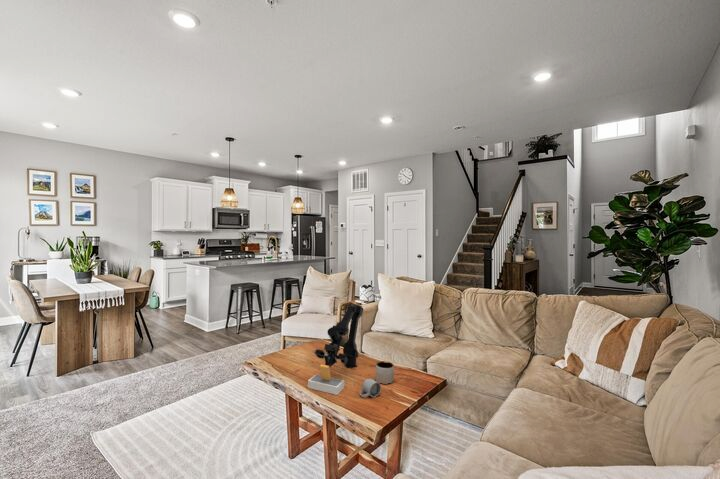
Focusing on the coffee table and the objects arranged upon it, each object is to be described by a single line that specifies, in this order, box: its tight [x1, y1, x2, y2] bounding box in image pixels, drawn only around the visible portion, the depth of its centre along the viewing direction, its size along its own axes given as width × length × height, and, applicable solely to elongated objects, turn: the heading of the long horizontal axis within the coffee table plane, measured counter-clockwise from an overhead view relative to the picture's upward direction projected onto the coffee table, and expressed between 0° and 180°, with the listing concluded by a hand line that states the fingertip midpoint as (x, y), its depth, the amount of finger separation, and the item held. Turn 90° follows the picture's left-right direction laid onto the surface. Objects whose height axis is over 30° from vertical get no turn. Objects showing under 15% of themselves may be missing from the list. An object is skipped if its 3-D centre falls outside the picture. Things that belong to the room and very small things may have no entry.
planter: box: [374, 360, 395, 385], centre depth 195 cm, size 11×11×10 cm
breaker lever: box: [319, 363, 332, 381], centre depth 182 cm, size 2×5×8 cm, turn 67°
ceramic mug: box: [359, 378, 382, 398], centre depth 178 cm, size 11×8×8 cm
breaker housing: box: [307, 374, 345, 396], centre depth 183 cm, size 9×18×4 cm, turn 68°
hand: (325, 370), depth 182 cm, fingers closed, pressing on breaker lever
